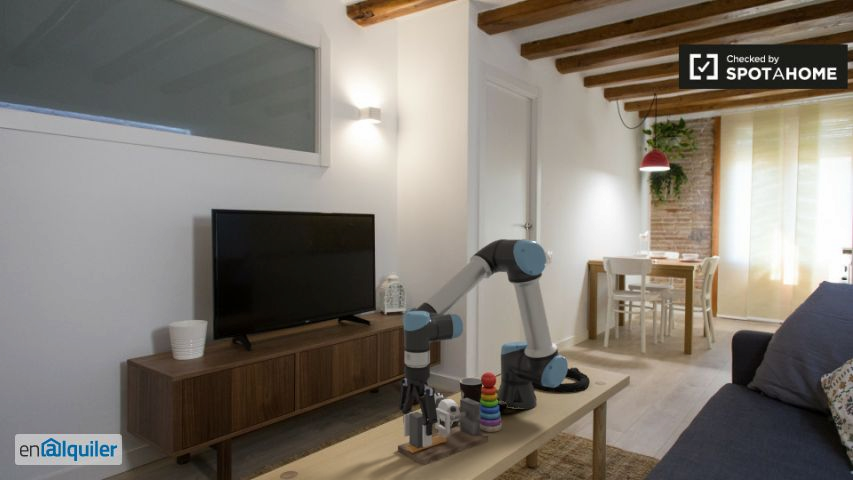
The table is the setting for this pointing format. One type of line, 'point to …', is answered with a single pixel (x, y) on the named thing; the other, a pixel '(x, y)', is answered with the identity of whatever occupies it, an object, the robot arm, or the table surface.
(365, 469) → the table surface
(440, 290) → the robot arm
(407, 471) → the table surface
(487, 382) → the stacking toy
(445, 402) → the giant panda
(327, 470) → the table surface
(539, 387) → the cable lock
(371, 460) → the table surface
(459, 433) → the board
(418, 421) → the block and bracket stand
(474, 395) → the coffee mug
